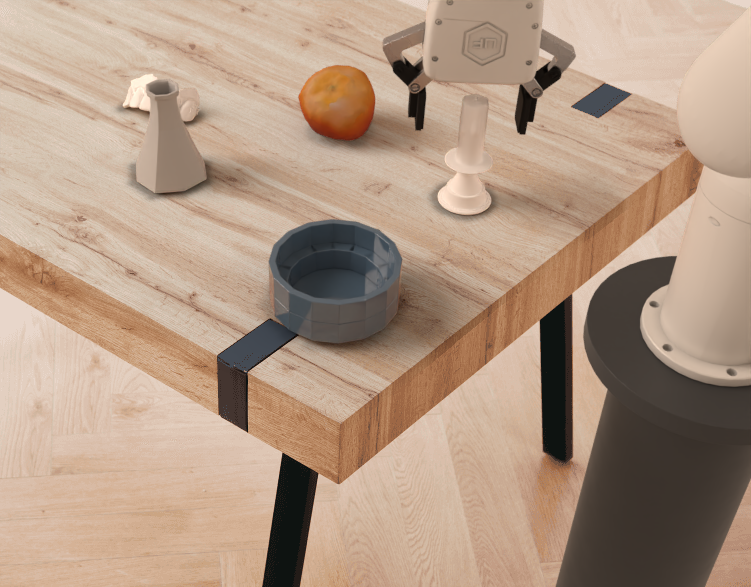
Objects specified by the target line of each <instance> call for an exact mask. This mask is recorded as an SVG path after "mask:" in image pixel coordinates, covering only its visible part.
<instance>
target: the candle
mask: <svg viewBox="0 0 751 587" xmlns="http://www.w3.org/2000/svg"><path fill="white" fill-rule="evenodd" d="M489 104H490V103H489V98H488V97H486V96H484V95H481V94H477V93H475V94H466V95H464V96H463V97H462V101H461V108H460V114H459V126H458V133H457V134H458V135H457V143H456V147H453V148H451V149H450V150H448V151H447V152H446V153H445V154H444V162H445V164H446V165H447V167H448V168H449V169H450V170H453V171H454V172H456V173H455V174H454V176H453V177H451V178H450V179H449V180H448V181H447V183H446V185H443V187H441V188H440V189H439V191H438V193H437V201H438V203H439V204H440V206H441V207H442V208H444V209H445V210H447V211H448V212H451V213H453V214H457V215H462V216H472V215H473V216H474V215H478V214H481V213H483V212H485V211H486V210H487V209H488V208H490V207H491V204H492V197H491V194H490V193H489V191H488V190H486V186H485V183H484V182H482V181H481V180H480V177H479V174H484V173H486V172H488V171H489V170H491V168H492V167H493V165H494V159H493V156H491V154H490V153H489V152H487V151H486V150H484V148H485V143H486V142H485V141H486V134H487V133H486V132H487V126H488V125H487V124H488V117H489V108H490V106H489Z"/></svg>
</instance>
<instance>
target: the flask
mask: <svg viewBox="0 0 751 587" xmlns="http://www.w3.org/2000/svg"><path fill="white" fill-rule="evenodd" d="M179 90H180V86H179V83H178V82H176V81H174V80H173V79H171V78H161V79H158V80H154V81H152V82H150V83H148V84H146V94H147V96H148V97H149V98H150V104H151V105H150V112H149V118H148V123H147V126H146V129H145V134H144V136H143V140H142V143H141V146H140V150H139V153H138V156H137V159H136V163H135V170H136V171H135V174H136V175H135V176H136V182H137V183H139V184H140V185H142V186H143V187H144V188H146V189H147V190H149V191H151V192H152V193H154V194H163V193H176V192H185V191H188V190H189V189H192V188H193V187H195V186H197V185H198V184H200V183H202V182H204V181H206V180H207V179H208V178H207V169H206V163H205V161H204V159H203V157H202V155H201V153H200V150H199V149H198V147H197V145H196V144H195V142H194V140H193V138H192V137H191V136H192V135H191V134H190V132H189V130H188V128H187V125H186V124H185V121H183V120H182V117H181V114H180V111H179V107H178V104H177V96H178V95H179Z"/></svg>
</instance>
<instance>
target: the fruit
mask: <svg viewBox="0 0 751 587" xmlns="http://www.w3.org/2000/svg"><path fill="white" fill-rule="evenodd" d="M374 90H375V89H374V87H373V84H372V83H371V80H370V78H369V76H368V75H367V73H366V72H365V71H363V70H361V69H359V68H357V67H355V66H351V65H345V64H344V65H343V64H334V65H330V66H326V67H323V68H321V69H320V70H318V71H316V72H314V73H313V74H312V75H311V76H310V77H308V79H306V81H305V82H304V84H303V86H302V88H301V90H300V92H299V94H298V97H297V98H298V102H299V107H300V110H301V113H302V116H303V118H304V120H305V121H306V122H307V124H308V126H309V127H310V129H311V130H312V131H313V132H315V133H316V134H318V135H319V136H323V137H326V138H328V139H329V138H330V139H332V140H338V141H346V142H351V141H356V140H358V139H360V138H362V137H363V136H364V135H365V133H366V132H367V131H368V130H369V129H370V127H371V124H372V122H373V120H374V116H375V115H374V114H375V108H376V94H375V91H374Z"/></svg>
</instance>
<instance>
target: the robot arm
mask: <svg viewBox="0 0 751 587" xmlns="http://www.w3.org/2000/svg"><path fill="white" fill-rule="evenodd" d="M544 3H545V0H428V1H427V6H426V11H425V18H424V21H422V22H420V23H418V24H414V25H412V26H410V27H408V28H406V29H403V30H400V31H398V32H395V33H393V34H390V35H388V36H386V37H384V38H383V39H382V51H383V54H384V56H385V58H386V59H387V61H388V63H389V65H390V67H391V69H392V72H393V74H394V75H395V76H396V77H397V78H398V79H399V80H401V82H403V84H405V86H407V89H408V102H407V117H408V118H412V119H414V130H415V132H418V131H419V132H421V131H422V130H424V126H425V115H426V106H427V104H426V103H427V86H428V85H429V84H430V83H432V81H435V82H438V83H439V82H440V83H449V84H468V85H469V84H470V85H472V84H474V85H493V86H494V85H495V86H496V85H497V86H518V85H519V86H518V92H517V99H516V104H515V111H514V122H515V127H516V132H517V134H519V135H523V136H525V135H526V134H527V129H528V123H534V120H535V115H536V109H537V104H538V99H539V98H541V97H542V96H543V95H544V91H546V90H547V89H548V88H550V87H551V86H553V85H554V84H555V83H556V82H558V81H559V80H560V79H562V75H563V73H564V72H565V71H567V70H568V68H569V67H570V65H571V64H572V63H573V62H574V60H575V59H576V57H577V54H576V50H575V48H574V46H573V45H572V44H571V43H569V42H567V41H565V40H563V39H562V38H560V37H558V36H556V35H554V34H553V33H551V32H549V31H547V30H545V29H544V28H543V18H544V5H545V4H544ZM420 44H421V45H422V55H421V57H420V58H419V59H417V60H416V61H415V62H414V63H411V62H410V61H409V60H408V59H407V57H406V56H404V55H403V51H406V50H408V49H410V48H412V47H415V46H417V45H420ZM540 50H543V51H544V52H546V53H548V54H550V55H552V56H553V57H552V60H549V61H548V62H547V63H546V64H544V65H543V66H542V67H540V68H538V64H539V57H540ZM676 120H677V126H678V130H679V134H680V136H681V139H682V141H683V143H684V145H685V146H686V149H687V150H688V151H689V152H690V154H691V155H692V156H693V157H694V158H695V159H696V160H697V162H699V163H700V164H702V165H703V166H702V170H701V172H700V176H699V180H698V183H697V185H696V190H695V193H694V196H693V200H692V204H691V207H690V211H689V214H688V218H687V221H686V225H685V228H684V232H683V235H682V238H681V242H680V245H679V248H678V252H677V255H676V256H677V258H676V262H675V265H674V269H673V272H672V275H671V279H670V282H669V284H668V285H666V286H664V287H661V288H660V289H658V290H657V291H655V292H654V293H652V295H651V296H650V297H649V298H648V299H647V300H646V302H645V305H644V307H643V309H642V313H641V317H640V329H641V333H642V336H643V339H644V340H645V342H646V344H647V346H648V347H649V349H650V350H651V351H652V352H653V353H654V355H655V356H656V357H657V358H659V359H660V360H661V361H662V362H663V363H664V364H666V365H667V366H669V367H670V368H672V369H673V370H675V371H677V372H678V373H680V374H682V375H685V376H687V377H689V378H691V379H694V380H697V381H700V382H703V383H707V384H712V385H718V386H730V387H738V386H749V385H751V5H750V6H749V7H748V8H747V9H745V10H744V11H743V12H742V14H740V15H739V16H738V17H737V18H736V19H735V20H734V21H733V22H732V23H731V24H730V25H729V26H728V27H727V28H726V29H724V30H723V32H722V33H721V34H720V35H718V36H717V38H715V39H714V40H713V41H712V42H711V43H710V44H709V45H708V46H707V47H706V48H705V49H704V50H703V51H702V52H701V53H700V54H699V55H698V56H697V57H696V58H695V60H694V61H693V62H692V63H691V65H690V66H689V68H688V69H687V71H686V73H685V74H684V76H683V78H682V80H681V83H680V87H679V89H678V94H677V99H676Z"/></svg>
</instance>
